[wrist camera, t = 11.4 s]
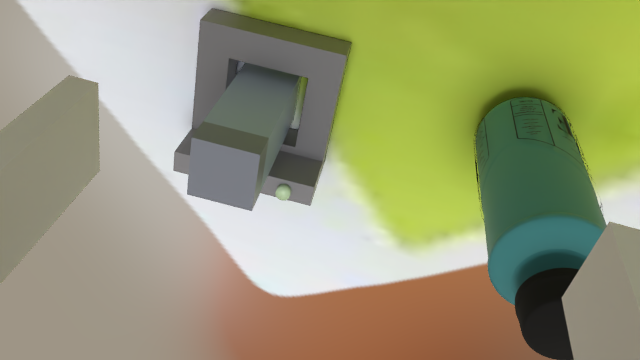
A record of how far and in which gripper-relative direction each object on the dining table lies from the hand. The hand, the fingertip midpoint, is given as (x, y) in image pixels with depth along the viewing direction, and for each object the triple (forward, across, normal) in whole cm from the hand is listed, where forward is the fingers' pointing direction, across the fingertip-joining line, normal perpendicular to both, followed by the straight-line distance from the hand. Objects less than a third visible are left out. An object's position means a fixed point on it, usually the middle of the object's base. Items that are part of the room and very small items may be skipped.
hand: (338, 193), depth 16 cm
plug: (+27, -7, -12) cm, 31 cm away
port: (+27, -7, -12) cm, 31 cm away
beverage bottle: (+28, +11, -10) cm, 31 cm away
